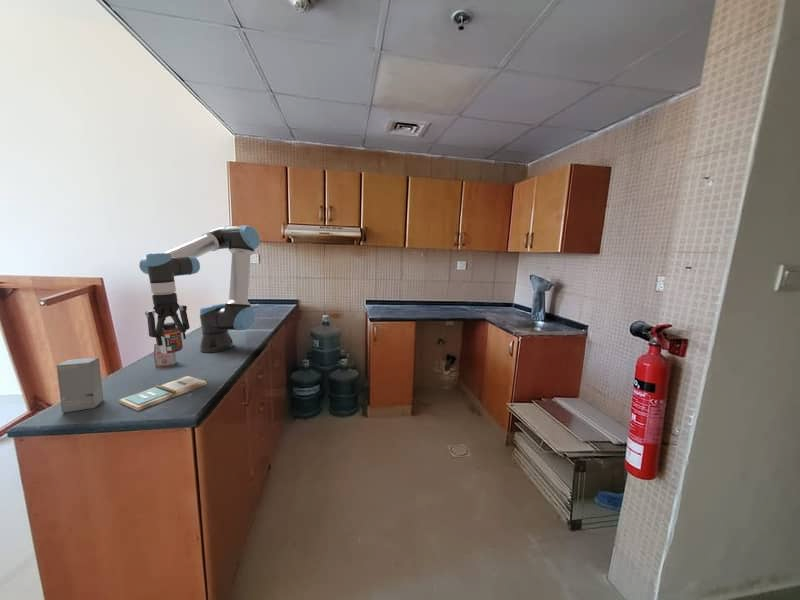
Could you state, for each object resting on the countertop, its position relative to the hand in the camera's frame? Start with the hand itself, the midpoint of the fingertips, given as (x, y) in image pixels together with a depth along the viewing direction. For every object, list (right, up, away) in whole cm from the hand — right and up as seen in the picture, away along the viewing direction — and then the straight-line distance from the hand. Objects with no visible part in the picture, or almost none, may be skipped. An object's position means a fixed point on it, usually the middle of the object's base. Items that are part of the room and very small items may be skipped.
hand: (173, 350), depth 122 cm
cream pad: (+8, -12, -7) cm, 16 cm away
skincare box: (-14, -16, -20) cm, 29 cm away
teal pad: (+3, -13, -16) cm, 21 cm away
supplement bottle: (0, -1, 0) cm, 1 cm away
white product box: (-16, -10, +17) cm, 25 cm away
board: (+6, -14, -11) cm, 19 cm away
